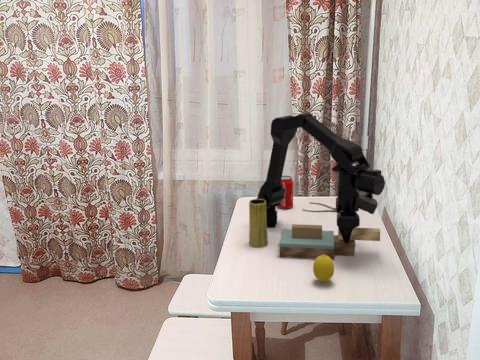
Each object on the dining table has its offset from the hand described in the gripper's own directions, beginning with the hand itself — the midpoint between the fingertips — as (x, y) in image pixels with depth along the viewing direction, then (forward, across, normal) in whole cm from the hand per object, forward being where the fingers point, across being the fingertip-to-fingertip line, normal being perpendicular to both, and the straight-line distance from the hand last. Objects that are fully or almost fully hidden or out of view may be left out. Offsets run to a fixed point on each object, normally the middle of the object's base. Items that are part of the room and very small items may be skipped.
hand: (345, 237), depth 143 cm
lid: (+2, 0, +12) cm, 12 cm away
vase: (+5, +4, +27) cm, 28 cm away
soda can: (+5, +38, +21) cm, 44 cm away
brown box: (+5, 0, +8) cm, 10 cm away
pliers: (+6, +38, +4) cm, 39 cm away
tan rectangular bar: (0, 0, -4) cm, 4 cm away
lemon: (+5, -19, +6) cm, 21 cm away
